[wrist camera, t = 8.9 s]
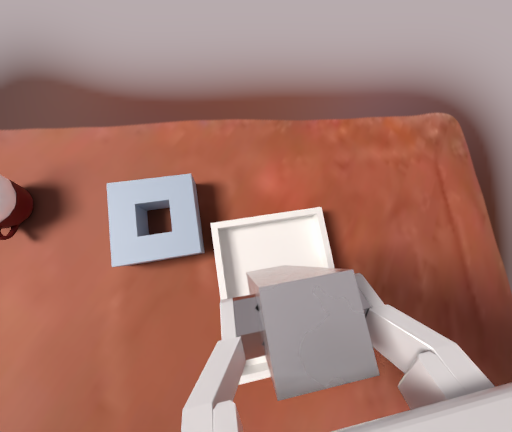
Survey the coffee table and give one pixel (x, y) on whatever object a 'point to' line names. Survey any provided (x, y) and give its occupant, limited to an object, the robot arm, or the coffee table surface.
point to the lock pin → (312, 328)
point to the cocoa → (13, 206)
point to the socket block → (136, 222)
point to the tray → (267, 255)
